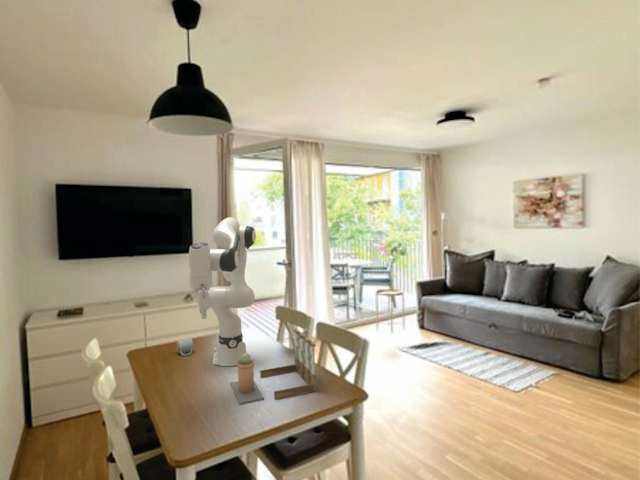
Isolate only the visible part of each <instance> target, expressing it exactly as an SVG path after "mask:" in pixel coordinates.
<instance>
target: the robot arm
mask: <svg viewBox="0 0 640 480" xmlns="http://www.w3.org/2000/svg"><path fill="white" fill-rule="evenodd" d="M212 238H213V242H214V243H215V244H216V246H218V247H220V248H210V244H209V243H208V242H198V243H197V242H196V243H193V244H190V246H189V250H188V267H189V271H190V273H189V287H190V289H193V292H194V296H195V300H196V303H197V306H198V310H199V313H200V314H201V319H202V320H206V319H207V318H208V316H207V311H208V310H209V309H211V310H212V311H213V312H214V314H215V316H216V318H217V321H218V328H219V329H218V330H219V331H218V332H219V334H218V344H217V347H214V350H213V351H214V353H213V359H212V365H214V366H220V367H235V366H237V362H238V361H239V360H240V357H241V355H242V354H243V353H247V346H246V343H245V342H244V341H243V337H244V335H243V333H242V319H241V318H240V316H239V315H238V314H236V313H234V312H233V311H232V309H243V308H248V307H252V305H253V303H254V301H255V295H256V294H255V293H254V290H253V289H252V288H251V287H250V286H249V285H248V284H247V281H246V279H245V276H246V275H245V274H246V267H247V260H248V259H247V258H248V257H247V253H248V252H247V250H250V248H251V247H253V245H254V244H255V242H256V239H257V233H256V229H255V228H254V227H253V226H249V225H247V226H245V225H240V222H239V221H238V220H237V219H236V218H234V217H229V216H228V217H226V218H224V219H222V220H221V221H220V222H219V223H218V224H217V226H216V227H215V228H214V230H213V232H212ZM213 272H222V275H223V278H224V280H226V281H228V282H229V283H230V284H231V285H230V286H227V285H226V286H224V285H223V286H221V285H220V286H219V285H218V286H213V285H214V284H213Z"/></svg>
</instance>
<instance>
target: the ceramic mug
mask: <svg viewBox="0 0 640 480" xmlns="http://www.w3.org/2000/svg"><path fill="white" fill-rule="evenodd" d="M193 341H194V340H193V338H192V337H187V338H184V339H180V340H177V341H176V343H175V344H176V351H177V353H178V354H180V355H181V356H183V357H188V356H190V355H192V353H193V352H194V342H193Z"/></svg>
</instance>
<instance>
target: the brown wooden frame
mask: <svg viewBox="0 0 640 480" xmlns="http://www.w3.org/2000/svg"><path fill="white" fill-rule="evenodd" d="M293 331H294V332H293V333H294V345H295V347H294V350H295V352H294V353H295V356H294V364H288V365H283V366H279V367H273V368H266V369H262V370H260V371H259V372H260V373H259V374H260V377H259V378H265V377H273V376H277V375H283V374H286V373H287V372H288V373H293V372H292V371H294V372H296V373H297V374H298V376H299V377H300V378H301V379H302V380H303V381H304V382H305V383H306V384H303V385H299V386H293V387H291V388H290V387H289V388H284V389H280V390H279V389H278V390H274V391H273V398H274V400H275V401H276V400H280V399H284V398H289V397H294V396H299V395H303V394H308V393H312V392H317V374H316V366H315V364H316V363H315V362H316V361H315V357H316V355H315V348H316V343H315V342H314V341H312V339H310V338H308V336H306V335H305V334H304V333H302V332H301V331H299V329H298V328H294V329H293Z"/></svg>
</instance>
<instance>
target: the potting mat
mask: <svg viewBox="0 0 640 480" xmlns="http://www.w3.org/2000/svg"><path fill="white" fill-rule="evenodd" d="M230 386H231V389H232V391H233V393H234V396H235V398H236V400H237V404H238V405H244V404H250V403H255V402H259V401H264V400H265V397H264V395H263V394H262V391H261V390H260V388H259V387H258V385H257V383H256V381H255V380H254V390H253V391H252V392H250V393H240V392H239V384H238V381H232V382H230Z"/></svg>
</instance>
